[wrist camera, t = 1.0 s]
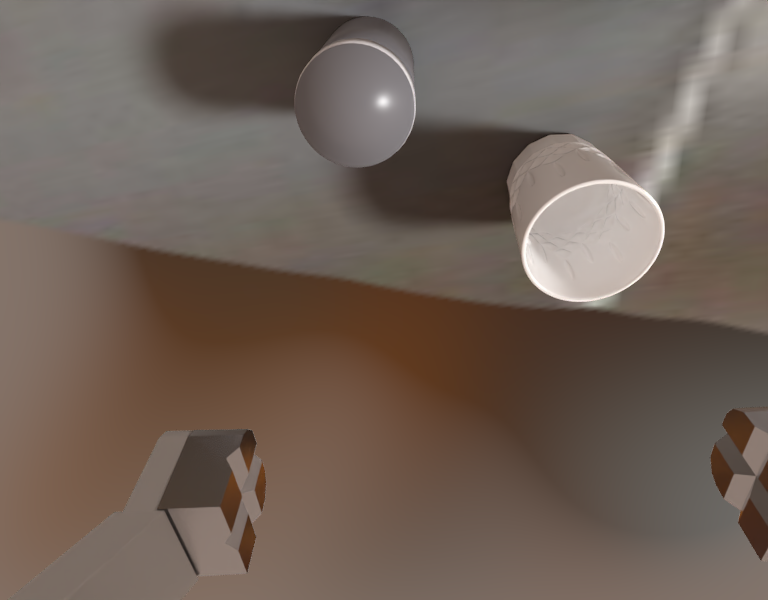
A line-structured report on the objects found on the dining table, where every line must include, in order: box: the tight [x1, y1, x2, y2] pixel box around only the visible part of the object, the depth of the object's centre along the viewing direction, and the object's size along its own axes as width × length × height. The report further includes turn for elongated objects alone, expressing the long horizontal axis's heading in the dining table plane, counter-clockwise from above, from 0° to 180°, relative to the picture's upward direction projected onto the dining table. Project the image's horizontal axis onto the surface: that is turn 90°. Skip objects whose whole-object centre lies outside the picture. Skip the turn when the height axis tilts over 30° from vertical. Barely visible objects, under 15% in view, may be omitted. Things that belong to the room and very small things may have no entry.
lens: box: [295, 16, 415, 168], centre depth 31 cm, size 6×6×10 cm
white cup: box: [507, 134, 665, 302], centre depth 34 cm, size 8×8×10 cm
